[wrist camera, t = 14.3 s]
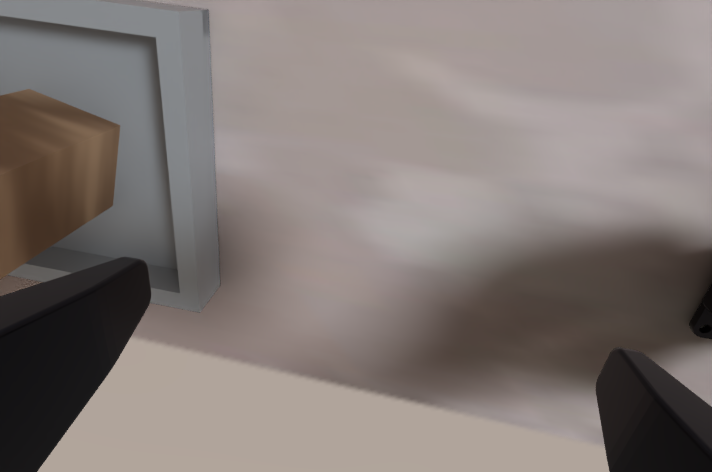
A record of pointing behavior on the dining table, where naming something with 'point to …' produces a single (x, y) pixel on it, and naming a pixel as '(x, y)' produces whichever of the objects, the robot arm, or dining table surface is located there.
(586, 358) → the dining table surface
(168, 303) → the grey tray
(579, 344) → the dining table surface
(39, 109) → the walnut block
